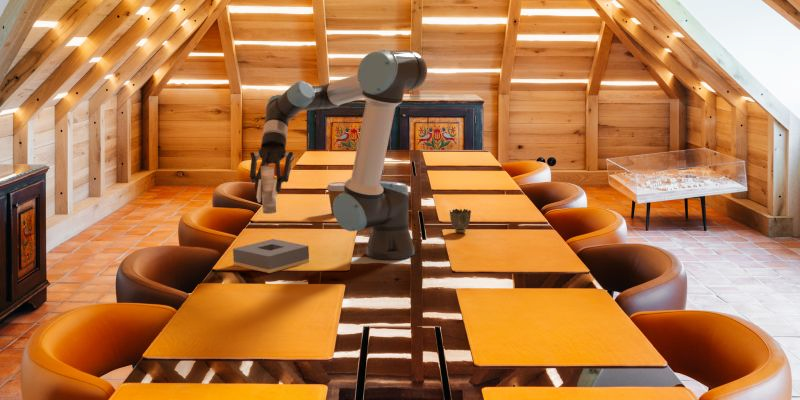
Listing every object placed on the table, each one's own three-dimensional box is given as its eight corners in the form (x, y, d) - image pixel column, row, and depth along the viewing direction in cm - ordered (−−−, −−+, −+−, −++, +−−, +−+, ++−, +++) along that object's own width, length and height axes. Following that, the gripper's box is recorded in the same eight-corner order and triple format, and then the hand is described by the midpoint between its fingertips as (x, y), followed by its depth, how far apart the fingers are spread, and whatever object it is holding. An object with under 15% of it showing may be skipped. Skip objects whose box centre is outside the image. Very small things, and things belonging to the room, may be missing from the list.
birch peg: (278, 212, 249) (276, 166, 247) (268, 214, 246) (266, 167, 244) (270, 210, 252) (268, 165, 249) (260, 212, 249) (257, 166, 246)
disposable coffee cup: (351, 216, 319) (350, 185, 317) (326, 216, 320) (325, 186, 317) (352, 211, 329) (351, 181, 327) (328, 211, 329) (328, 182, 327)
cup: (457, 229, 293) (457, 207, 291) (475, 232, 288) (475, 209, 287) (445, 233, 287) (445, 210, 286) (462, 236, 283) (462, 213, 281)
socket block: (309, 261, 251) (308, 245, 250) (269, 273, 239) (268, 256, 238) (273, 254, 261) (272, 238, 260) (233, 264, 249) (233, 248, 248)
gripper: (303, 145, 260) (296, 206, 247) (249, 146, 261) (240, 207, 248) (299, 130, 254) (292, 192, 241) (245, 131, 255) (235, 192, 242)
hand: (266, 199), depth 244 cm, fingers closed on birch peg, 4 cm apart
